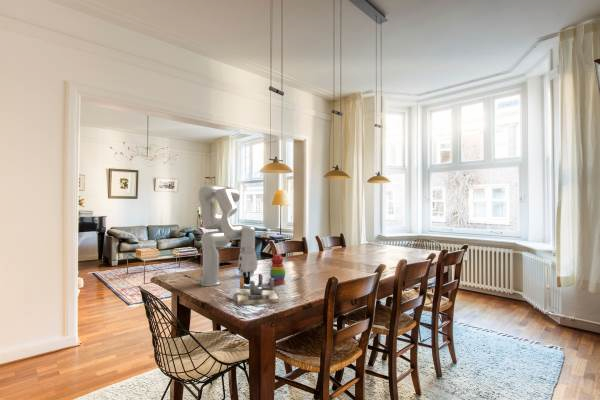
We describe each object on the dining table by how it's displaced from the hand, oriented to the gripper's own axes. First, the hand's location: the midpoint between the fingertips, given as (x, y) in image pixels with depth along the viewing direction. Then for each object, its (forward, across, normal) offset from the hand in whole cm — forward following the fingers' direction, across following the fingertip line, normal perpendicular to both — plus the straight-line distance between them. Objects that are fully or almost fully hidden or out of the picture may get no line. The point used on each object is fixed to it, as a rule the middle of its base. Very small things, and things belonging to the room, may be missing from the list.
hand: (246, 283), depth 172 cm
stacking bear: (+6, +30, +5) cm, 31 cm away
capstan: (+4, 0, -7) cm, 8 cm away
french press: (+7, +33, +33) cm, 47 cm away
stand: (+6, 0, -7) cm, 10 cm away
